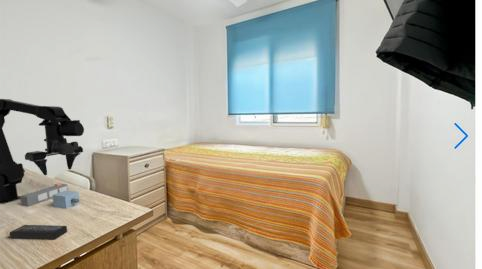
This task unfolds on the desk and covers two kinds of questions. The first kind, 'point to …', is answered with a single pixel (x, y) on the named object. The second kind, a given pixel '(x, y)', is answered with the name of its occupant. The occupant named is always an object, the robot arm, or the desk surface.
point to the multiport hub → (38, 232)
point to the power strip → (42, 194)
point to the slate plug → (66, 199)
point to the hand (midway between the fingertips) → (58, 172)
